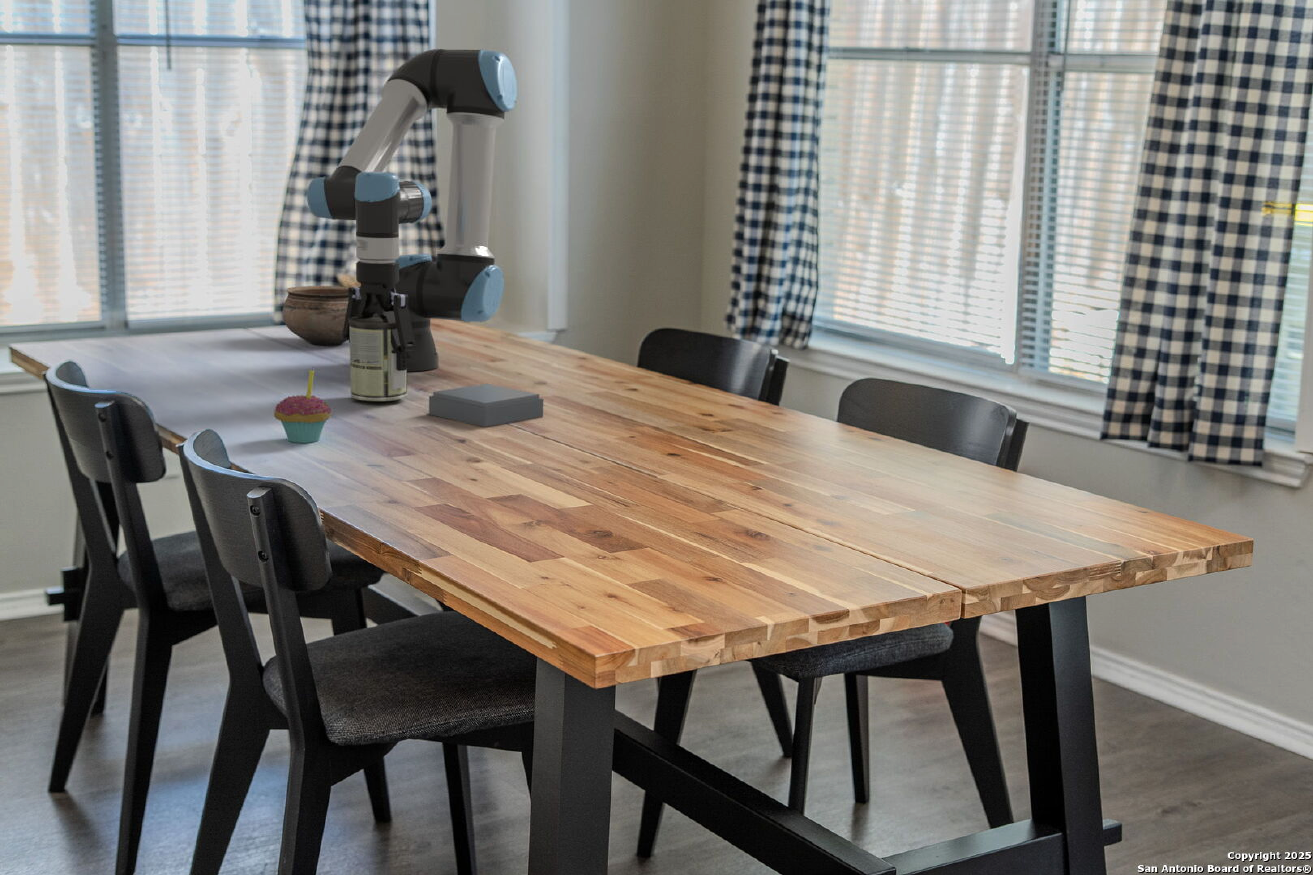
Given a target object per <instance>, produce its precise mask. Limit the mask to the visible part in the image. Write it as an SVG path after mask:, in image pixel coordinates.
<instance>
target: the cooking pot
mask: <svg viewBox="0 0 1313 875" xmlns="http://www.w3.org/2000/svg"><path fill="white" fill-rule="evenodd" d="M348 288H350V287H348V286H337V285H335V286H334V285H305V286H294V287H292V286H291V287H289V288H288V287H287V288H286V289H285V291H286V292H287V294H288V295H287V296H286V299H285V301H284V305H283V308H282V313H281V314H282V319H283V323H284V324H285V325H286V327H287V328H288V330H289V331H291V333H293V334H294V335H296V336H297V337H298V338H300V339H302V340H304V341H306V342H307V343H309V344H310V345H312V346H318V347H338V346H341V345H342V344H344V343H346V342H347V341H348V340H347V339H343V337H342V333H343V328H344V322H345V317H346V311H347V306H348V300H349V299H348ZM349 332H350V330H349Z"/></svg>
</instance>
